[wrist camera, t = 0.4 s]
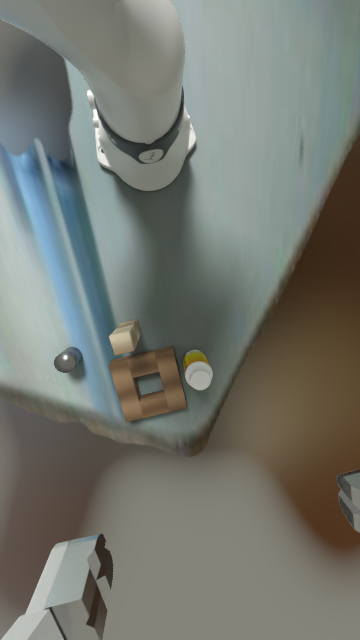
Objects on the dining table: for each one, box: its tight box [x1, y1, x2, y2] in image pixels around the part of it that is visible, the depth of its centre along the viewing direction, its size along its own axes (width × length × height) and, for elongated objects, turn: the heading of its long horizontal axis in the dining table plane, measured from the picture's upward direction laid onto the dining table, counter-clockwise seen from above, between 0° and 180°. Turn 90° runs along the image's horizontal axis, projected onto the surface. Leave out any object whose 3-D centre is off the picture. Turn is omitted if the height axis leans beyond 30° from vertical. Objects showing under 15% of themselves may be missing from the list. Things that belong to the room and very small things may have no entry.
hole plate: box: [109, 346, 187, 422], centre depth 52 cm, size 14×14×3 cm
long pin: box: [109, 319, 141, 355], centre depth 46 cm, size 4×4×11 cm
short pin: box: [54, 347, 82, 373], centre depth 49 cm, size 4×4×4 cm
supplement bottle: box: [183, 350, 213, 390], centre depth 49 cm, size 6×6×10 cm
